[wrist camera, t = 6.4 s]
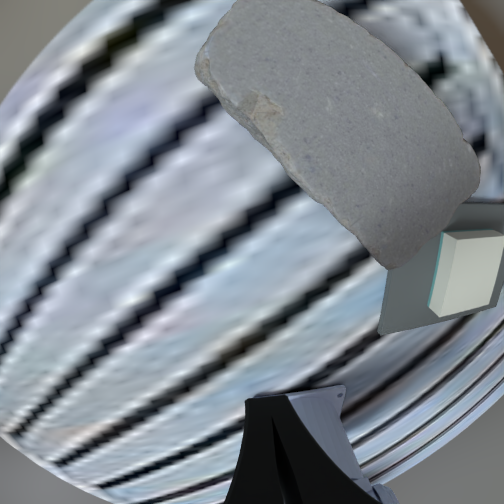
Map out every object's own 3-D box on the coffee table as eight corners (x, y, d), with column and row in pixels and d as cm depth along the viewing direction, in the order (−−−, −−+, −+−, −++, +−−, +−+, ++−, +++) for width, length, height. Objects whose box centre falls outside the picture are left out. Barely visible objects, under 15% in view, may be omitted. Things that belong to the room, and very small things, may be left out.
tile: (427, 305, 21) (476, 294, 22) (439, 317, 20) (488, 304, 20) (441, 231, 19) (491, 228, 20) (457, 239, 17) (505, 235, 18)
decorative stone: (392, 242, 20) (441, 111, 16) (450, 291, 14) (515, 118, 10) (176, 173, 17) (231, 14, 14) (148, 203, 11) (235, -42, 7)
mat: (492, 303, 23) (495, 306, 23) (377, 331, 22) (380, 335, 22) (514, 203, 20) (519, 205, 19) (395, 201, 18) (400, 203, 18)
